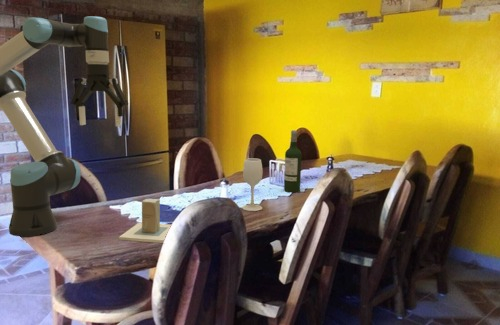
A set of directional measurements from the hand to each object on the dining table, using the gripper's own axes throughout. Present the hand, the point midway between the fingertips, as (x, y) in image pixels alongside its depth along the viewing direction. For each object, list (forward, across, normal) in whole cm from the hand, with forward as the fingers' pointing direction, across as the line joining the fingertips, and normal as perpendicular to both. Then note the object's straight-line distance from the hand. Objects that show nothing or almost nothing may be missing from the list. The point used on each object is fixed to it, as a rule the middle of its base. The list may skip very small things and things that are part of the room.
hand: (100, 125), depth 155 cm
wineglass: (+37, +49, +34) cm, 70 cm away
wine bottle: (+37, +63, +69) cm, 100 cm away
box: (+36, +20, -5) cm, 41 cm away
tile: (+37, +20, -5) cm, 42 cm away
